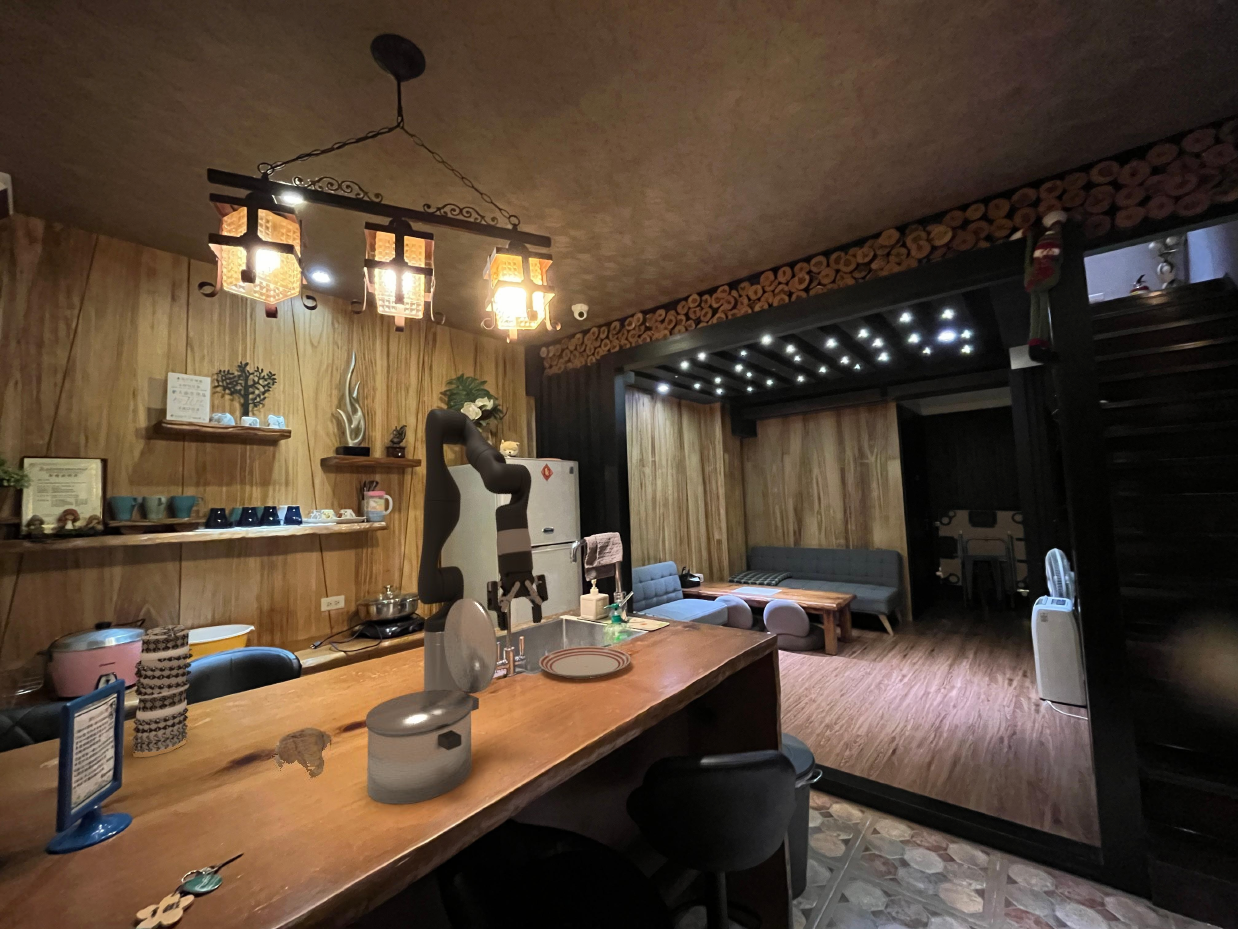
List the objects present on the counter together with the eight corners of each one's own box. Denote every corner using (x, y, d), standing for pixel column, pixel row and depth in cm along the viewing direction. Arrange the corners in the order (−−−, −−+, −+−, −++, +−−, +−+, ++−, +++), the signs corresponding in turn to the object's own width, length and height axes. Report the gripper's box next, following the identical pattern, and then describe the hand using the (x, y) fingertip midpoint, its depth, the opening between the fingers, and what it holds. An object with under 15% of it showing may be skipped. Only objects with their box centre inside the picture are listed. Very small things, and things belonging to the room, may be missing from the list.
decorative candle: (197, 735, 112) (202, 620, 114) (175, 754, 103) (181, 629, 105) (146, 743, 109) (152, 624, 111) (119, 762, 100) (126, 633, 102)
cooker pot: (376, 757, 98) (377, 694, 99) (478, 741, 104) (477, 681, 105) (352, 822, 77) (353, 740, 78) (481, 797, 83) (480, 721, 84)
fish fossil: (344, 771, 94) (343, 765, 94) (278, 797, 87) (278, 790, 87) (318, 727, 114) (318, 722, 114) (263, 745, 107) (263, 740, 107)
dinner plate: (650, 667, 149) (649, 656, 150) (577, 692, 131) (577, 679, 131) (591, 651, 169) (590, 641, 170) (521, 671, 151) (521, 659, 151)
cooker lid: (444, 683, 104) (466, 676, 108) (492, 703, 92) (516, 695, 96) (444, 595, 106) (466, 591, 110) (491, 603, 94) (514, 599, 98)
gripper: (530, 550, 119) (537, 621, 116) (477, 555, 109) (482, 633, 105) (550, 547, 114) (557, 620, 111) (495, 551, 104) (502, 633, 100)
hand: (521, 626), depth 108 cm, fingers open, 8 cm apart
